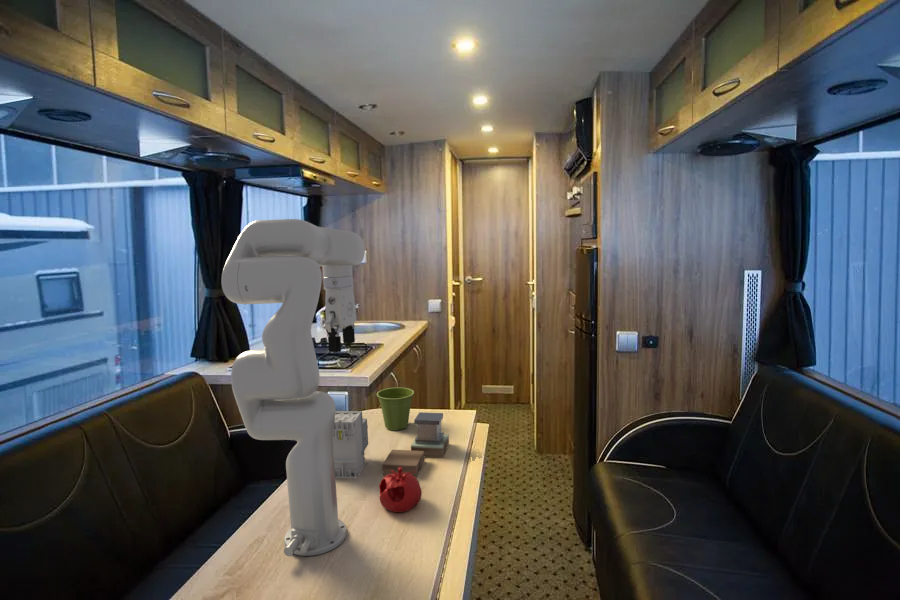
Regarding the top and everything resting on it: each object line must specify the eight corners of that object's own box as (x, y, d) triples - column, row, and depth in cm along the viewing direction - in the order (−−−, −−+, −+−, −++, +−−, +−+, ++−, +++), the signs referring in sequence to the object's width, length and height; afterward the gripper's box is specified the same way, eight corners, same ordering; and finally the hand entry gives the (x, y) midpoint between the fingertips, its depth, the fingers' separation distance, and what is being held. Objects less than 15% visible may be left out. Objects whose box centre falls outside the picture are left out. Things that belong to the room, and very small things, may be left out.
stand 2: (443, 457, 147) (442, 447, 146) (411, 455, 149) (410, 445, 148) (448, 443, 156) (448, 434, 155) (418, 442, 157) (418, 432, 157)
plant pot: (414, 433, 165) (413, 398, 163) (376, 434, 164) (374, 399, 163) (416, 419, 176) (415, 386, 175) (380, 420, 176) (378, 387, 174)
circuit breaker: (370, 454, 151) (367, 403, 148) (357, 478, 137) (353, 422, 134) (344, 453, 151) (341, 403, 149) (328, 477, 137) (324, 422, 135)
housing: (439, 444, 148) (438, 420, 147) (415, 443, 149) (414, 420, 148) (443, 436, 154) (443, 413, 153) (420, 435, 155) (419, 412, 154)
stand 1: (416, 477, 136) (416, 466, 136) (382, 475, 138) (382, 464, 137) (424, 461, 145) (424, 451, 144) (392, 459, 146) (392, 449, 146)
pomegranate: (402, 490, 130) (401, 454, 129) (430, 504, 123) (429, 466, 122) (369, 506, 123) (368, 467, 122) (397, 521, 116) (396, 481, 115)
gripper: (339, 287, 130) (343, 355, 132) (363, 279, 147) (366, 339, 149) (310, 287, 131) (315, 355, 134) (337, 279, 148) (341, 339, 150)
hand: (342, 346), depth 141 cm, fingers open, 9 cm apart
